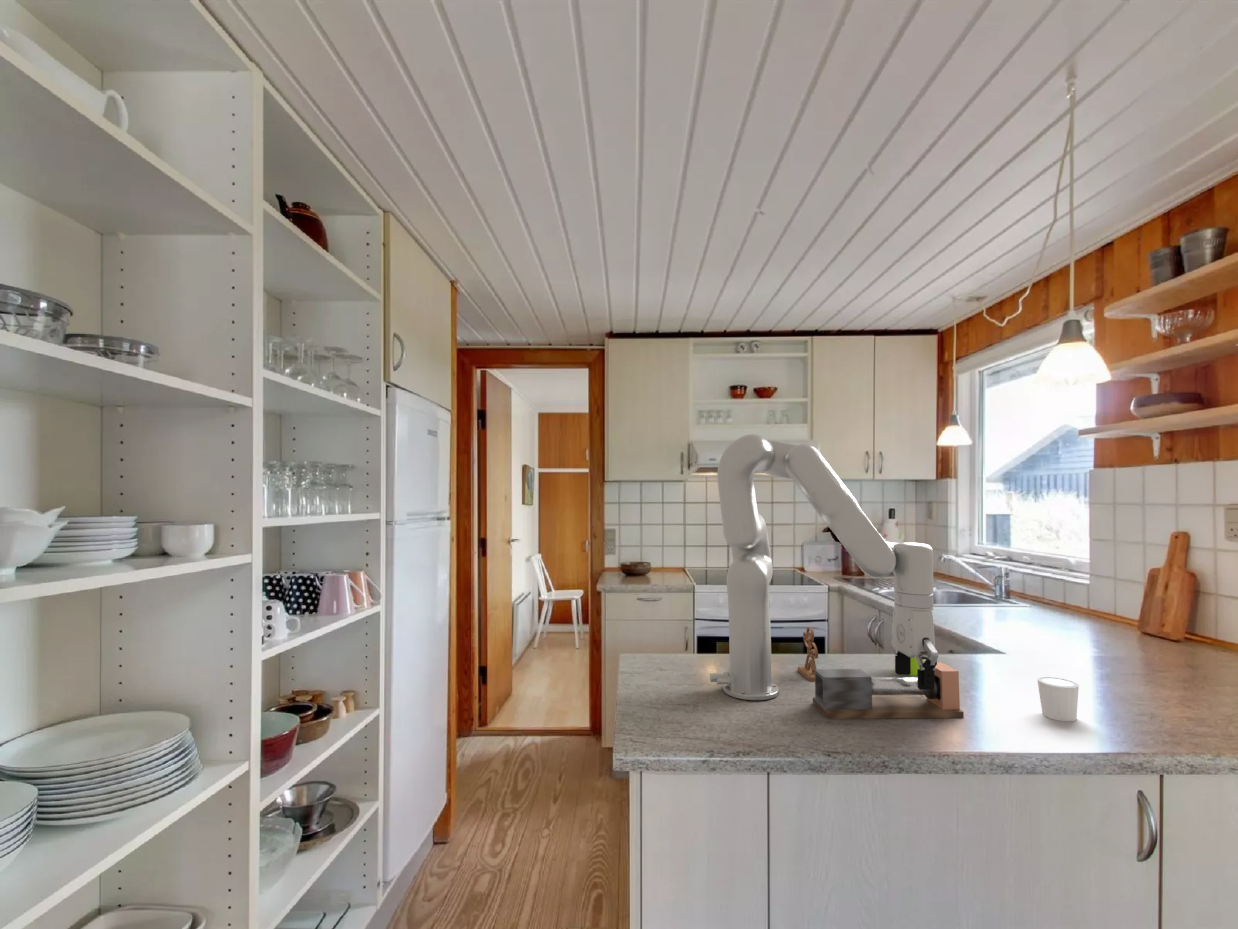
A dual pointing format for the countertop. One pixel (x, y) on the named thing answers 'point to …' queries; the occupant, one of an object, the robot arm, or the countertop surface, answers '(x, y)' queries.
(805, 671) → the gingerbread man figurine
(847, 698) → the stand
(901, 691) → the steel tube
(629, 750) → the countertop surface
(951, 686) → the socket block
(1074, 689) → the white cup
